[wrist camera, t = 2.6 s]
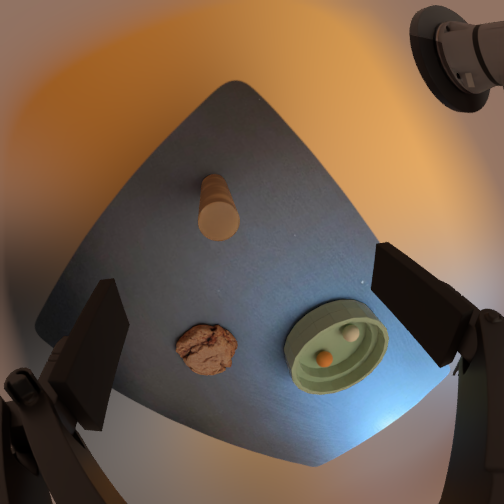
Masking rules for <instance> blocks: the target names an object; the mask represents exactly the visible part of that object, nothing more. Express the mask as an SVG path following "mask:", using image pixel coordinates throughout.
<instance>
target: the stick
mask: <svg viewBox="0 0 504 504" xmlns="http://www.w3.org/2000/svg"><path fill="white" fill-rule="evenodd" d="M239 223H240V219H239V214H238V212H237V209H236V206H235V204H234V201H233V199H232V196H231V194H230V191H229V188H228V186H227V183H226V181H225V179H224V178H223V177H222V176H220V175H217V174H211V175H208V176H207V177H206V178H205V179H204V180H203V182H202V185H201V195H200V205H199V215H198V226H199V229H200V231H201V232H202V234H203V235H204V236H205V237H207V238H208V239H211V240H214V241H223V240H226V239H229V238H230V237H232V236H233V235H234V234H235V233H236V231H237V230H238V227H239Z"/></svg>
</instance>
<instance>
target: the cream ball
mask: <svg viewBox="0 0 504 504" xmlns="http://www.w3.org/2000/svg"><path fill="white" fill-rule="evenodd" d="M342 335H343V338H344V339H345V340H346V341H348V342H353V341H355V340H357V338H358V337H359V329H358V328H357V327H356V326H355V325H348V326H346V327H345V328H344V330H343V333H342Z"/></svg>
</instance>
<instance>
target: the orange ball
mask: <svg viewBox="0 0 504 504" xmlns="http://www.w3.org/2000/svg"><path fill="white" fill-rule="evenodd" d="M332 361H333V357H332V355H331V353H329V352H327V351H323V352H320V353H319V354H318V355H317V358H316V362H317V364H318V365H319V366H320V367H328V366H330V365H331V363H332Z"/></svg>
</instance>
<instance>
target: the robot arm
mask: <svg viewBox="0 0 504 504" xmlns="http://www.w3.org/2000/svg"><path fill="white" fill-rule="evenodd" d="M433 41H434V49H435V53H436V57H437V60H438V62H439V65H440V67H441V69H442V71H443V73H444V74H445V76H446V77H447V79H448V80H449V82H450V83H451V84H452V85H453V86H454V87H455V88H456V89H457V90H459V91H460V92H462V93H465V94H478V93H481V92H483V91H485V90H488V89H490V88H492V87H494V86H503V88H504V21H500V22H493V23H487V24H481V25H472V24H467V23H462V22H456V21H447V22H443V23H440V24H439V25H438V26H437V27H436V29H435V31H434V37H433ZM371 290H372V291H373V292H374V293H375V295H376V296H377V297H378V298H379V299H380V300H381V301H382V302H383V303H384V304H385V305H386V306H387V308H388V309H389V310H390V311H391V312H392V313H393V314H394V315H395V316H396V318H397V319H398V320H399V321H400V322H401V323H402V324H403V325H404V326H405V328H406V329H407V330H408V331H409V332H410V333H411V334H412V336H413V337H414V338H415V339H416V340H417V341H418V343H419V344H420V345H421V346H422V347H423V348H424V350H425V351H426V352H427V353H428V354H429V355H430V357H431V358H432V359H433V360H434V361H435V363H436V364H437V365H438V366H439V367H440V368H441V367H443V366H446V365H448V364H450V363H451V362H452V361H453V359H454V357H455V355H456V353H457V351H458V352H459V353H460V354H461V358H460V360H459V362H458V364H457V366H456V368H455V370H454V372H453V375H455V374H456V372H457V371H458V370H459V374H458V376H459V379H458V399H457V413H456V422H455V430H454V438H453V445H452V451H451V457H450V462H449V467H448V472H447V476H446V481H445V485H444V489H443V492H442V496H441V500H440V502H439V504H504V317H503V316H502V315H501V314H499V313H498V312H497V311H495V310H492V309H483V310H481V311H480V310H479V309H478V308H477V307H476V306H475V305H473V304H472V303H471V302H470V301H469V300H467V299H466V298H465V297H464V296H461V294H460V293H459V292H458V291H455V289H454V288H453V287H451V286H450V285H449V284H447V283H445V282H442V281H440V280H438V279H437V278H436V277H435V276H433V275H432V274H431V273H429V272H428V271H427V270H425V269H424V268H423V267H421V266H420V265H419V264H417V263H416V262H415V261H413V260H412V259H411V258H409V257H408V256H407V255H405V254H404V253H403V252H401V251H400V250H398V249H397V248H396V247H394V246H393V245H391V244H390V243H389V242H385V243H378V244H376V252H375V261H374V269H373V277H372V284H371ZM129 325H130V324H129V322H128V319H127V316H126V313H125V310H124V307H123V304H122V302H121V299H120V296H119V292H118V289H117V286H116V283H115V280H114V278H113V279H104V280H100V281H99V283H98V285H97V286H96V288H95V290H94V291H93V293H92V295H91V296H90V298H89V300H88V302H87V303H86V305H85V307H84V309H83V310H82V312H81V314H80V316H79V318H78V320H77V321H76V323H75V325H74V327H73V329H72V331H71V333H70V335H69V336H64V337H63V338H62V339H61V340H60V341H59V342H58V343H57V344H56V345H55V347H54V349H53V351H52V355H50V357H49V359H48V362H47V363H46V365H45V367H44V369H43V371H42V373H41V375H40V377H39V379H38V380H37V379H36V378H35V376H34V374H33V373H32V372H31V370H30V369H28V368H19V369H16V370H15V371H13V372H12V373H10V375H9V376H8V377H7V378H6V381H5V383H4V389H5V390H6V392H7V393H8V394H9V396H10V397H11V398H12V399H13V401H9V402H5V401H4V400H3V399H2V397H1V396H0V504H53V503H52V499H51V496H50V493H51V495H52V497H53V499H54V501H55V502H56V504H127V503H126V501H125V500H124V499H123V498H122V497H121V495H120V494H119V493H118V491H117V490H116V489H115V488H114V486H113V485H112V483H111V482H110V481H109V479H108V478H107V476H106V475H105V474H104V472H103V471H102V469H101V468H100V466H99V465H98V463H97V462H96V460H95V459H94V457H93V456H92V454H91V452H90V451H89V449H88V448H87V446H86V444H85V443H84V441H83V439H82V438H81V436H80V434H79V433H78V432H77V431H76V429H75V427H76V424H77V421H78V422H79V424H80V425H81V426H82V427H83V428H84V429H85V430H94V431H102V428H103V423H104V418H105V414H106V410H107V405H108V401H109V397H110V393H111V389H112V385H113V381H114V377H115V373H116V369H117V366H118V362H119V359H120V355H121V352H122V348H123V345H124V341H125V338H126V335H127V331H128V328H129ZM49 491H50V493H49Z"/></svg>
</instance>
